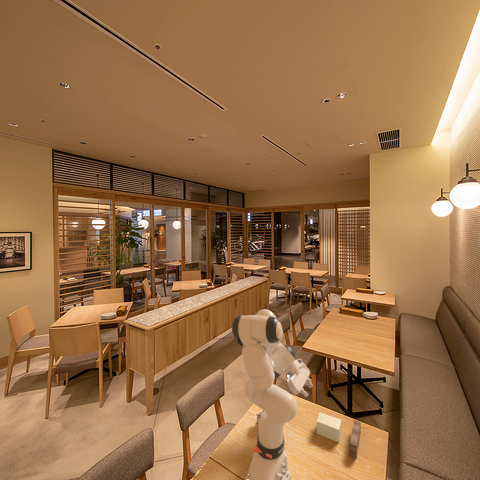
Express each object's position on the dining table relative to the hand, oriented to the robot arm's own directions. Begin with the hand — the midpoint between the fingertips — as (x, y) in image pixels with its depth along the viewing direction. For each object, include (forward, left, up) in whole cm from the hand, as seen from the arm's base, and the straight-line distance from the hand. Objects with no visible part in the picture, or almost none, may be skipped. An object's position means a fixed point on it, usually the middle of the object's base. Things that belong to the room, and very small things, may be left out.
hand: (309, 391), depth 133 cm
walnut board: (0, -23, -19) cm, 30 cm away
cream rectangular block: (0, -10, -20) cm, 22 cm away
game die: (-13, +21, -20) cm, 32 cm away
